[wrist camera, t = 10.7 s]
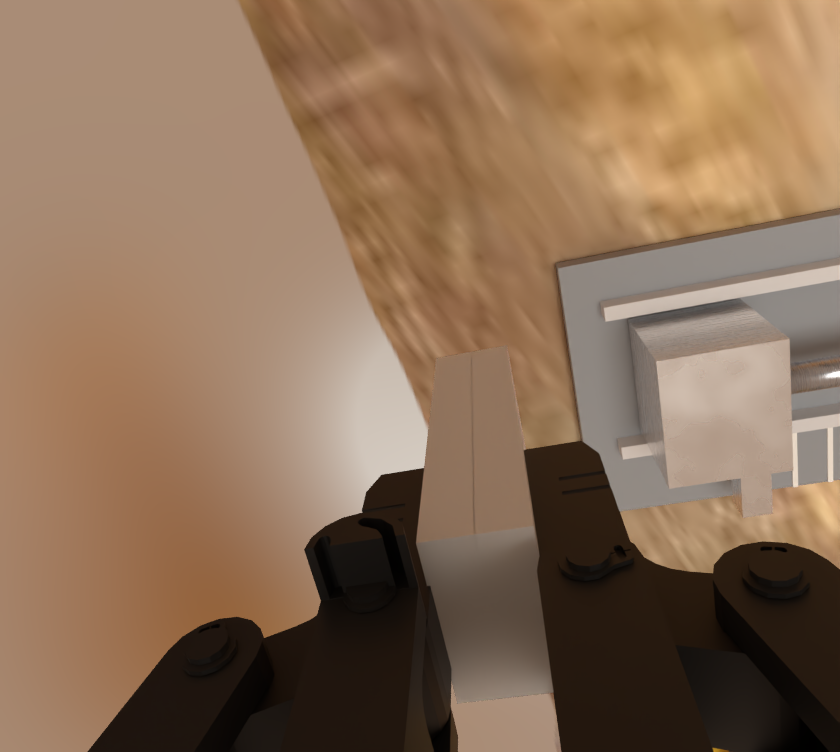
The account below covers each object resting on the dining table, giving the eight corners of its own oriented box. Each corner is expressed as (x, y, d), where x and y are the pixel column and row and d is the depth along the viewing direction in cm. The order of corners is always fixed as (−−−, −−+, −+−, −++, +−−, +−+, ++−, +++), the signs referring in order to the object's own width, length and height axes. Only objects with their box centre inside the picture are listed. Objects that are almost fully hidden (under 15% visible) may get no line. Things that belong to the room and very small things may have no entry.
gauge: (627, 319, 40) (656, 361, 34) (897, 270, 38) (977, 306, 32) (647, 496, 44) (676, 561, 38) (892, 460, 42) (962, 523, 36)
